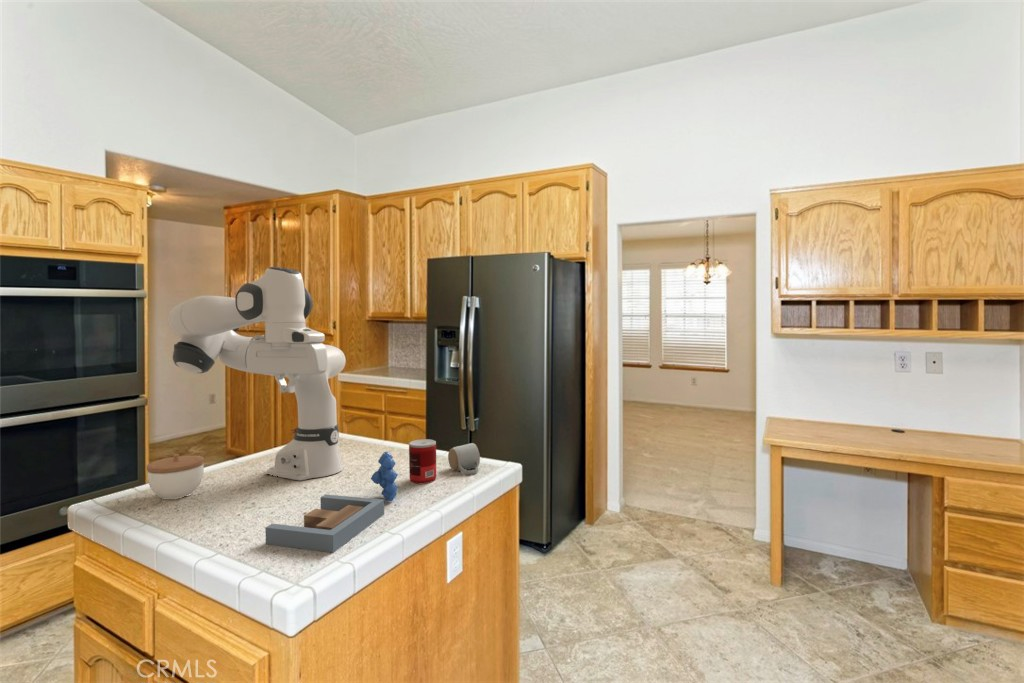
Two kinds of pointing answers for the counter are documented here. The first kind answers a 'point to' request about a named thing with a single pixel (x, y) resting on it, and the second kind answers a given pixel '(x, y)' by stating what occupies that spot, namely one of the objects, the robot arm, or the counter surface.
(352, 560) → the counter surface
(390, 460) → the grapes
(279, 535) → the bay
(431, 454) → the canned food
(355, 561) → the counter surface
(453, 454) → the ceramic mug
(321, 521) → the t block
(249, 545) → the counter surface
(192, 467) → the lidded bowl
